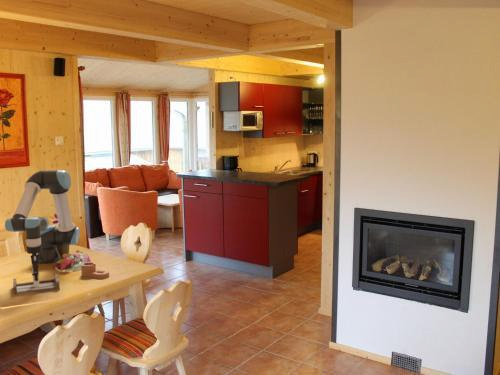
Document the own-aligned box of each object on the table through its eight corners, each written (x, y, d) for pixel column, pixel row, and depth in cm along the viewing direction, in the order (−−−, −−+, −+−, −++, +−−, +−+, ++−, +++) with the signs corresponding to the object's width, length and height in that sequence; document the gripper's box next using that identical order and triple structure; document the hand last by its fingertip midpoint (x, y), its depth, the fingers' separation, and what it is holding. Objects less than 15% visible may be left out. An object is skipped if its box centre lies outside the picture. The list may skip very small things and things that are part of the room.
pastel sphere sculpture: (48, 266, 322) (47, 252, 321) (83, 259, 338) (83, 246, 336) (62, 275, 304) (61, 260, 302) (99, 267, 319) (98, 253, 318)
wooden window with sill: (13, 286, 281) (13, 278, 280) (57, 281, 290) (56, 273, 290) (13, 296, 265) (13, 287, 265) (59, 289, 275) (59, 281, 274)
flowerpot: (74, 252, 356) (72, 210, 352) (68, 257, 342) (66, 214, 338) (54, 252, 355) (51, 211, 351) (47, 257, 341) (44, 214, 337)
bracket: (78, 276, 300) (78, 265, 299) (87, 272, 308) (87, 261, 307) (103, 279, 293) (102, 268, 293) (112, 275, 301) (111, 264, 300)
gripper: (26, 241, 284) (28, 277, 287) (26, 251, 262) (29, 290, 265) (40, 240, 287) (42, 275, 290) (42, 249, 265) (44, 288, 268)
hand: (36, 282), depth 277 cm, fingers open, 13 cm apart
